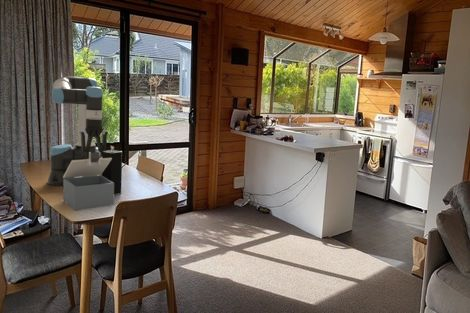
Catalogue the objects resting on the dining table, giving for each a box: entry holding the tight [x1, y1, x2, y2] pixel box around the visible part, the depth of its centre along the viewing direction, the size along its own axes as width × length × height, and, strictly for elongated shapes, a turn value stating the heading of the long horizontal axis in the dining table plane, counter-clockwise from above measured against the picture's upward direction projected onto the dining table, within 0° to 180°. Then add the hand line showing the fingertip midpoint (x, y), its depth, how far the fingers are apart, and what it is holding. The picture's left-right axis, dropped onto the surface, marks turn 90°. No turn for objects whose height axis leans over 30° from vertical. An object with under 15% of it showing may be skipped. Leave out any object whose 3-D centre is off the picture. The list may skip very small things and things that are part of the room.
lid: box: [63, 152, 112, 178], centre depth 194 cm, size 24×20×3 cm
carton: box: [62, 174, 115, 211], centre depth 196 cm, size 18×20×12 cm
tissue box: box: [101, 145, 123, 196], centre depth 214 cm, size 8×8×28 cm
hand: (93, 164), depth 188 cm, fingers closed on lid, 4 cm apart
